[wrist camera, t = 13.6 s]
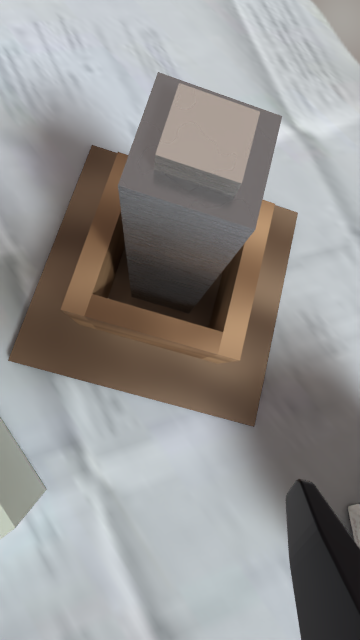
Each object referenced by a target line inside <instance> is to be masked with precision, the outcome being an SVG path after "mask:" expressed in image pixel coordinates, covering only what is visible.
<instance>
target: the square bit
mask: <svg viewBox="0 0 360 640" xmlns="http://www.w3.org/2000/svg"><path fill="white" fill-rule="evenodd" d="M281 119H282V116H280V115H277V114H274V113H271V112H269V111H266V110H263V109H260V108H257V107H255V106H252V105H249V104H246V103H243V102H241V101H238V100H235V99H232V98H229V97H226V96H224V95H221V94H218V93H215V92H212V91H210V90H207V89H204V88H201V87H198V86H195V85H193V84H190V83H187V82H184V81H181V80H179V79H176V78H173V77H170V76H167V75H165V74H162V73H159V72H158V74H157V77H156V80H155V82H154V85H153V88H152V91H151V94H150V96H149V99H148V102H147V105H146V108H145V110H144V113H143V116H142V119H141V122H140V124H139V127H138V130H137V133H136V136H135V139H134V141H133V144H132V147H131V150H130V153H129V155H128V158H127V161H126V164H125V167H124V169H123V172H122V175H121V178H120V181H119V183H118V191H119V199H120V207H121V215H122V223H123V232H124V240H125V248H126V256H127V264H128V272H129V280H130V289H131V297H134V298H137V299H140V300H144V301H147V302H151V303H154V304H157V305H161V306H164V307H168V308H171V309H174V310H178V311H181V312H185V313H188V314H189V313H190V312H191V310H192V309H193V308H194V307H195V305H196V304H197V303H198V301H199V300H200V299H201V298H202V296H203V295H204V294H205V293H206V291H207V290H208V289H209V288H210V286H211V285H212V284H213V283H214V281H215V280H216V279H217V277H218V276H219V275H220V274H221V272H222V271H223V270H224V269H225V267H226V266H227V265H228V264H229V262H230V261H231V260H232V259H233V257H234V256H235V255H236V253H237V252H238V251H239V250H240V248H241V247H242V246H243V245H244V243H245V242H246V241H247V240H248V238H249V237H250V236H251V235H252V233H253V232H254V231H255V229H256V225H257V220H258V216H259V212H260V208H261V204H262V199H263V195H264V191H265V187H266V182H267V178H268V174H269V170H270V165H271V161H272V157H273V153H274V148H275V144H276V140H277V136H278V131H279V127H280V123H281Z"/></svg>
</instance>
